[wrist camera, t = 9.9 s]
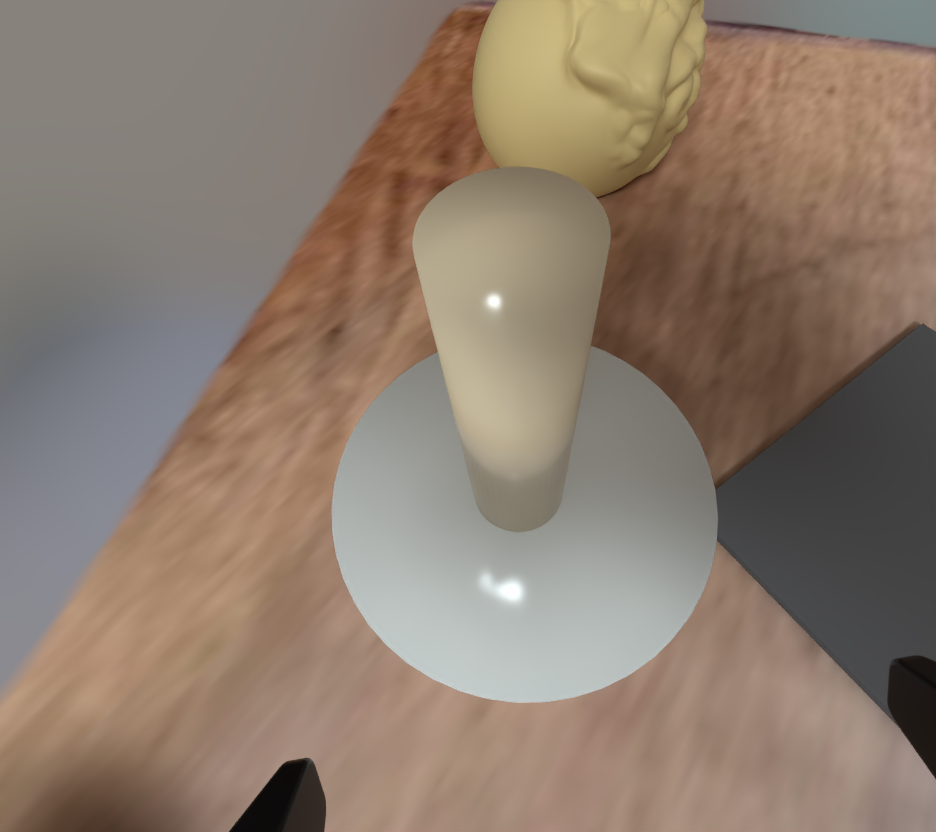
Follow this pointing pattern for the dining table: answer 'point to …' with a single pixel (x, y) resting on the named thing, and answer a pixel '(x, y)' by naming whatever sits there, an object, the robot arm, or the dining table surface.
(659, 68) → the sculpture
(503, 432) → the lid
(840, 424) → the mat
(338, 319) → the dining table surface
